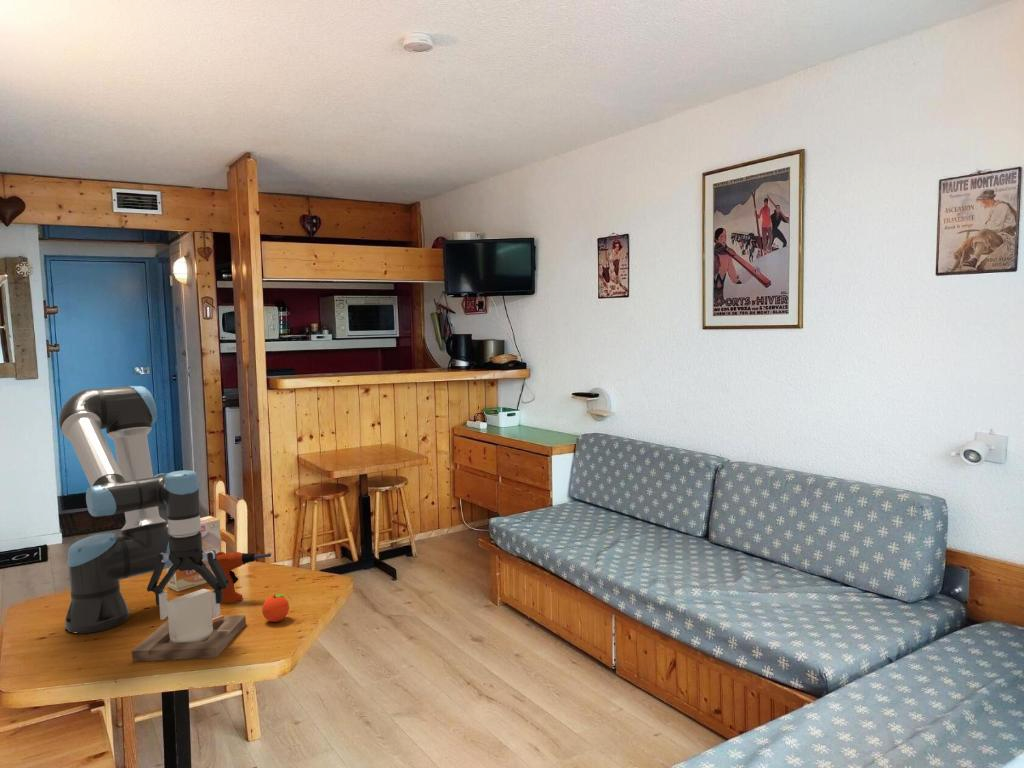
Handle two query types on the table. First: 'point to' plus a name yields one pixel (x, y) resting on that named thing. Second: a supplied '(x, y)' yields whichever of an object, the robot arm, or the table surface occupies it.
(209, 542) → the coffeecake box
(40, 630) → the table surface
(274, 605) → the clementine
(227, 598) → the toy drill
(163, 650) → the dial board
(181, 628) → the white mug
